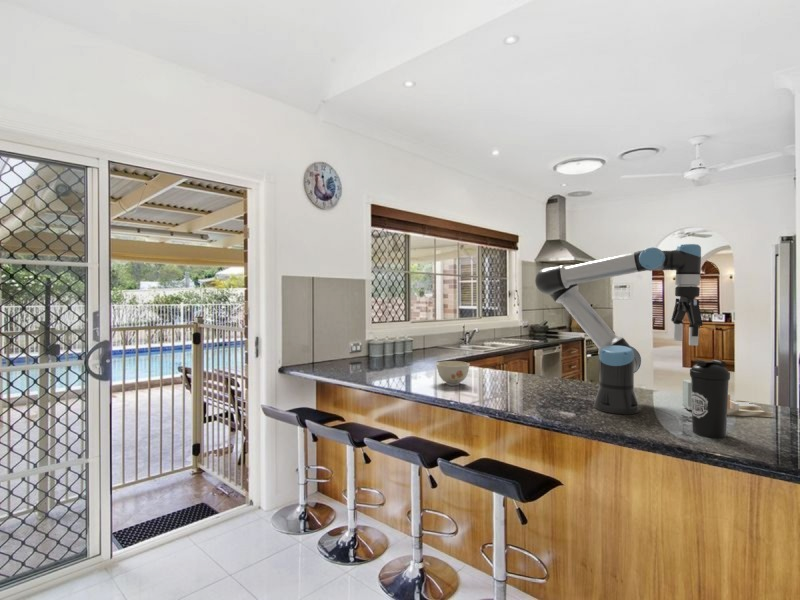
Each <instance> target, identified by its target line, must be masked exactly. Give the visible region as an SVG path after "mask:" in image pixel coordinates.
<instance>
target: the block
mask: <svg viewBox="0 0 800 600" xmlns="http://www.w3.org/2000/svg"><path fill="white" fill-rule="evenodd" d="M730 400H731V395H730V394H729V393H728V404H727V409H730Z"/></svg>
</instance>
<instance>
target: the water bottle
mask: <svg viewBox="0 0 800 600" xmlns="http://www.w3.org/2000/svg"><path fill="white" fill-rule="evenodd" d="M694 363H695V364H694V365H693V366H691V368H690V369H689V376H690V380H691V389H692V410H691V417H692V419H691V420H692V421H691V422H692V423H691V425H692V426H691V427H692V432H693V434H695V435H698V436H701V437H703V438H711V439H725V438H726V437H727V421H728V415H727V404H728V394H729V381H730V379H731V373H730V371H729V370H728V369H727V367H726V366H727V363H726V362H725V361H723V360H718V359H711V360H710V361H706V360H702V359H701V360H700V359H694Z"/></svg>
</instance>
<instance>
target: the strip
mask: <svg viewBox="0 0 800 600" xmlns="http://www.w3.org/2000/svg"><path fill="white" fill-rule="evenodd" d="M681 406H682V407H684V408H685V409H687V410H689V411H692V389H691V379H682V402H681ZM727 410H739V404H738V403H735V402H733V401H731V399H730V409H727Z"/></svg>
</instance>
